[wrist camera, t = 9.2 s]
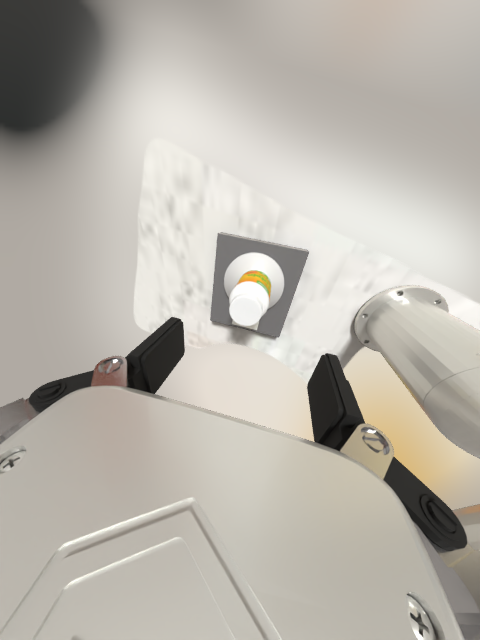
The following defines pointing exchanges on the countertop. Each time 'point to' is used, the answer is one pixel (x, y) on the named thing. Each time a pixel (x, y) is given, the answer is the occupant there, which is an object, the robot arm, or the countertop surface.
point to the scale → (267, 257)
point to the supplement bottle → (250, 298)
